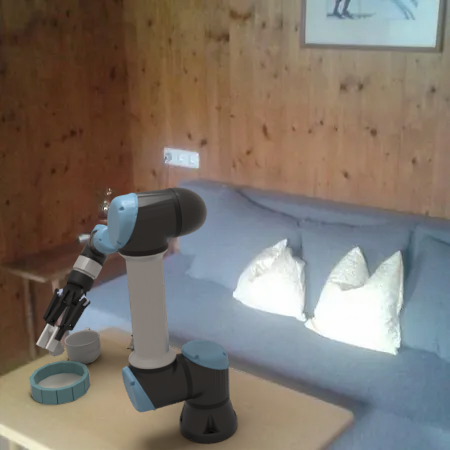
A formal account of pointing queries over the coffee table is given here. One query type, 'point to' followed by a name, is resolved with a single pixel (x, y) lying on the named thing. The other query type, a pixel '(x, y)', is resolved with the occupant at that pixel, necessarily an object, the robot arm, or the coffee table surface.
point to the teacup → (83, 346)
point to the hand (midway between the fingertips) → (44, 348)
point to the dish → (59, 382)
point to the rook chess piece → (59, 347)
